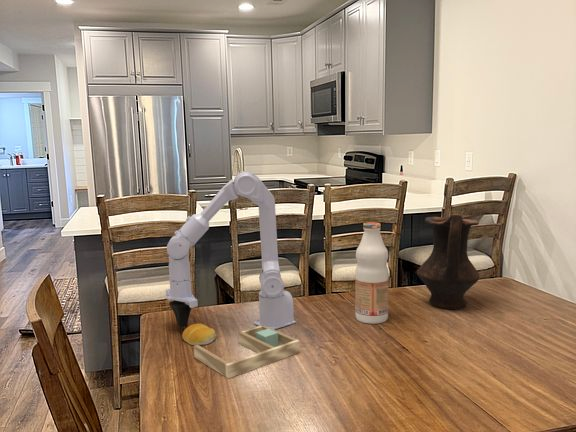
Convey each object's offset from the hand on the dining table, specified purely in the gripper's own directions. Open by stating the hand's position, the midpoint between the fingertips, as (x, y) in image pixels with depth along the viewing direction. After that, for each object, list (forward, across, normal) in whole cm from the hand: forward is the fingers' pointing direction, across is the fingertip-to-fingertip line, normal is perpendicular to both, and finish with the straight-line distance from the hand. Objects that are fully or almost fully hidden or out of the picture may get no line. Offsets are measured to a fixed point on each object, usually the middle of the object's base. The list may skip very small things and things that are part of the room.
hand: (182, 326), depth 146 cm
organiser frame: (+1, +26, +3) cm, 26 cm away
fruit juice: (+1, +30, +45) cm, 54 cm away
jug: (+1, +38, +71) cm, 80 cm away
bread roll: (+1, +9, 0) cm, 9 cm away
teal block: (+1, +26, +10) cm, 28 cm away
